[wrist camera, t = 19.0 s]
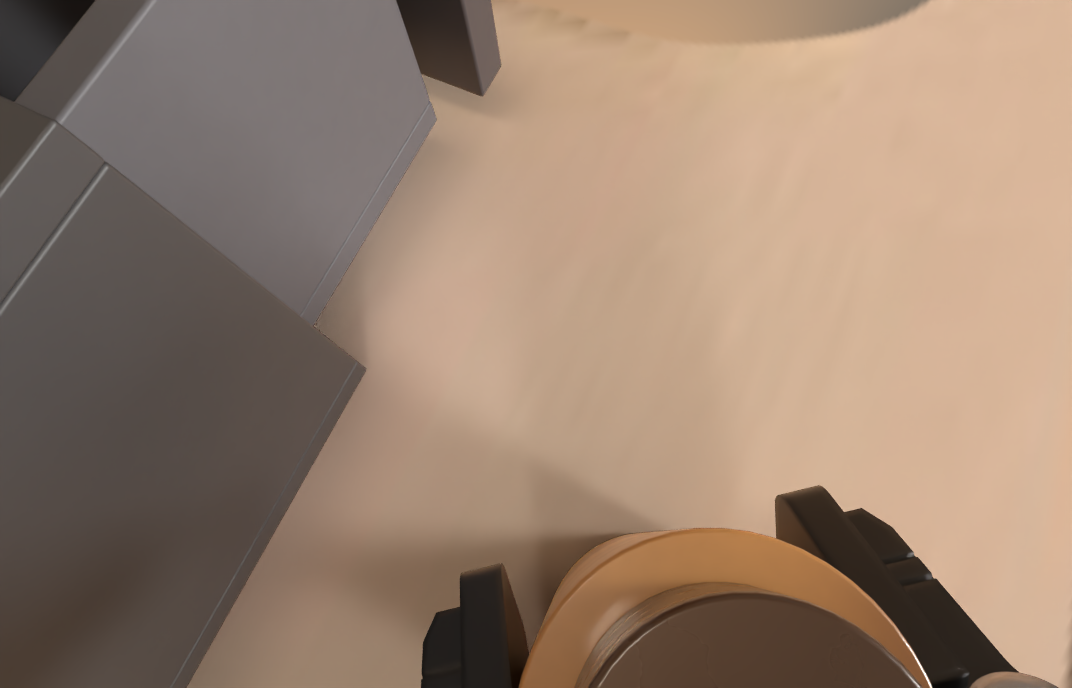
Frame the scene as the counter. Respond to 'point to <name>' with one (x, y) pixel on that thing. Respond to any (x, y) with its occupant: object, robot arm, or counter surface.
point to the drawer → (253, 111)
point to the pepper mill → (714, 619)
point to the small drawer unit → (135, 421)
